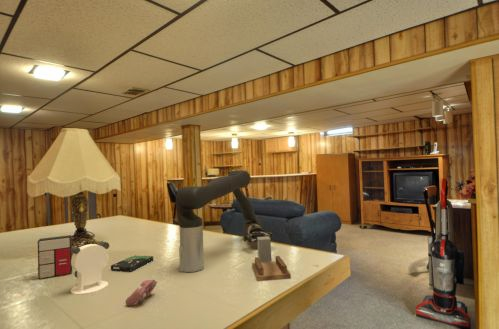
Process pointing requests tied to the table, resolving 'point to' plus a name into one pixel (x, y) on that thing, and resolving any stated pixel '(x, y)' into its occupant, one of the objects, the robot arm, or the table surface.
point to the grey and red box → (54, 256)
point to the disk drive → (131, 263)
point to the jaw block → (264, 249)
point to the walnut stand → (270, 270)
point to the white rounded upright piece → (89, 267)
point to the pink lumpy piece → (141, 292)
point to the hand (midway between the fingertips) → (260, 240)
